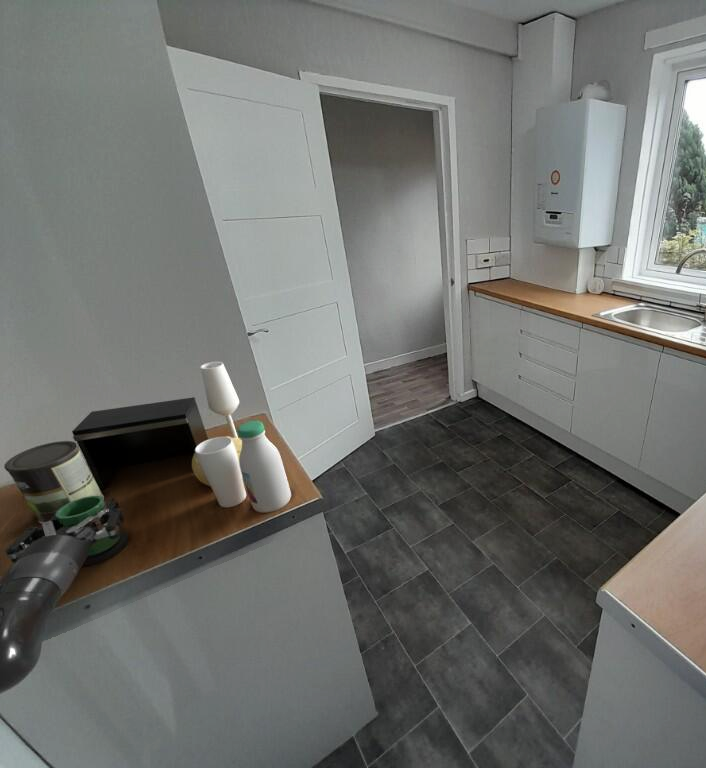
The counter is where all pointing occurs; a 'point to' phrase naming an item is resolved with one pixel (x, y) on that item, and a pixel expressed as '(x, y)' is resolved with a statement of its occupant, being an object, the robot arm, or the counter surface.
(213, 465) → the drinking glass
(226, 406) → the champagne flute
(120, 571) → the counter surface
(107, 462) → the cubby
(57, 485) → the coffee can
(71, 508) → the pot
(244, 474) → the milk bottle
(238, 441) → the yellow ball
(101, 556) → the dark round coaster
